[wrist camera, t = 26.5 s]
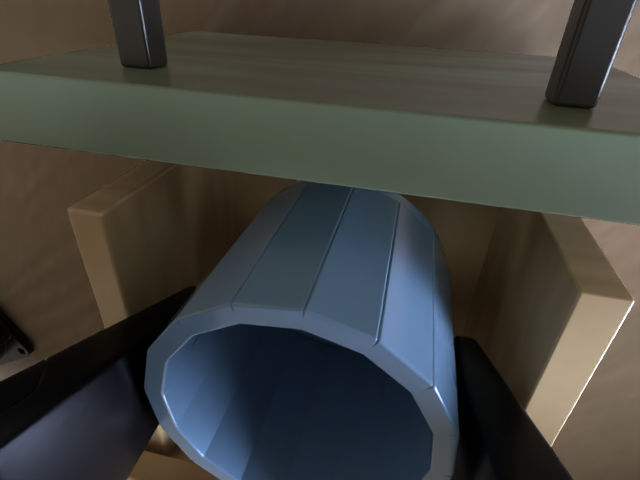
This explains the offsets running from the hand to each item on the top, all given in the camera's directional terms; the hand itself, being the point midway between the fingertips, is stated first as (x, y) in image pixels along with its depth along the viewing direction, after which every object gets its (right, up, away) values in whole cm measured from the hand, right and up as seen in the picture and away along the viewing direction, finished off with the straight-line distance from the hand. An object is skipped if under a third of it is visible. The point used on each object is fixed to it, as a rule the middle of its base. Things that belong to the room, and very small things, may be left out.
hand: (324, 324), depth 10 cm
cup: (+1, +1, +2) cm, 2 cm away
